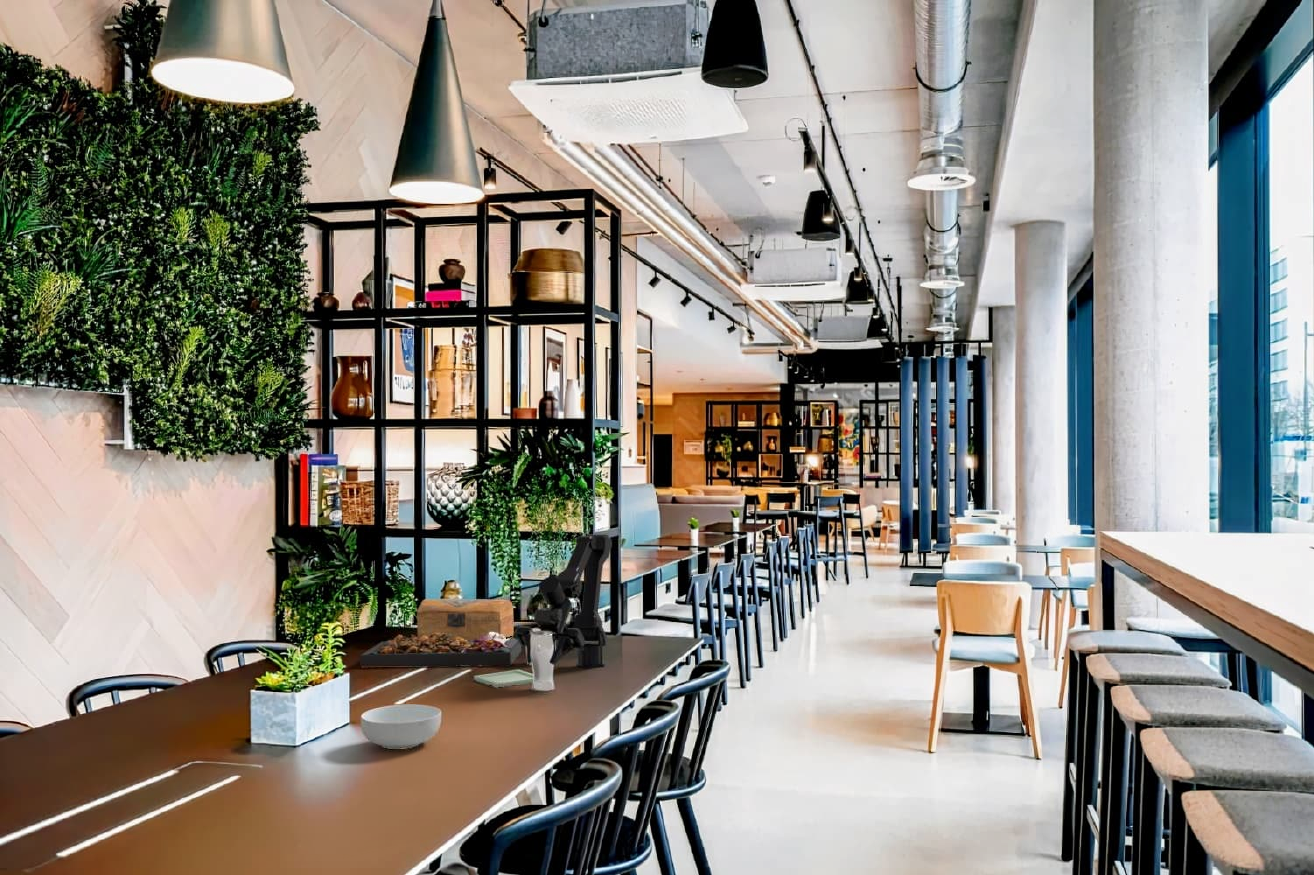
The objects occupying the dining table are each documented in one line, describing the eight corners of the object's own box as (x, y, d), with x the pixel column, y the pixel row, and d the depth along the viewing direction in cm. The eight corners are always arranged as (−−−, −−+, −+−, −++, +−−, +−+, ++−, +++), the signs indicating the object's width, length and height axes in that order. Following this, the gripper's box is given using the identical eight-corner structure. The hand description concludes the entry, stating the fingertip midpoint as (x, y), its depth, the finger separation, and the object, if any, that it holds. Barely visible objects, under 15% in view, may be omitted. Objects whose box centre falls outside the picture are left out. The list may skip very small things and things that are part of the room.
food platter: (521, 652, 345) (520, 620, 345) (510, 667, 320) (510, 633, 321) (381, 655, 345) (381, 623, 345) (360, 670, 321) (359, 635, 321)
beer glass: (530, 686, 289) (529, 630, 289) (556, 685, 290) (555, 630, 290) (529, 692, 282) (529, 635, 282) (556, 691, 283) (555, 634, 283)
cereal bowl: (370, 760, 220) (370, 725, 220) (353, 742, 235) (353, 709, 235) (451, 749, 228) (450, 715, 228) (429, 732, 243) (429, 700, 243)
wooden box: (414, 643, 365) (414, 602, 365) (433, 635, 381) (432, 596, 382) (499, 644, 360) (498, 602, 360) (514, 636, 376) (513, 596, 376)
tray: (518, 673, 308) (518, 669, 308) (542, 681, 296) (542, 676, 296) (474, 680, 300) (474, 675, 300) (497, 688, 288) (497, 683, 288)
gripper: (517, 596, 293) (498, 644, 283) (579, 598, 287) (563, 646, 277) (530, 621, 301) (512, 668, 290) (591, 623, 295) (576, 671, 284)
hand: (540, 663), depth 285 cm, fingers closed on beer glass, 7 cm apart
